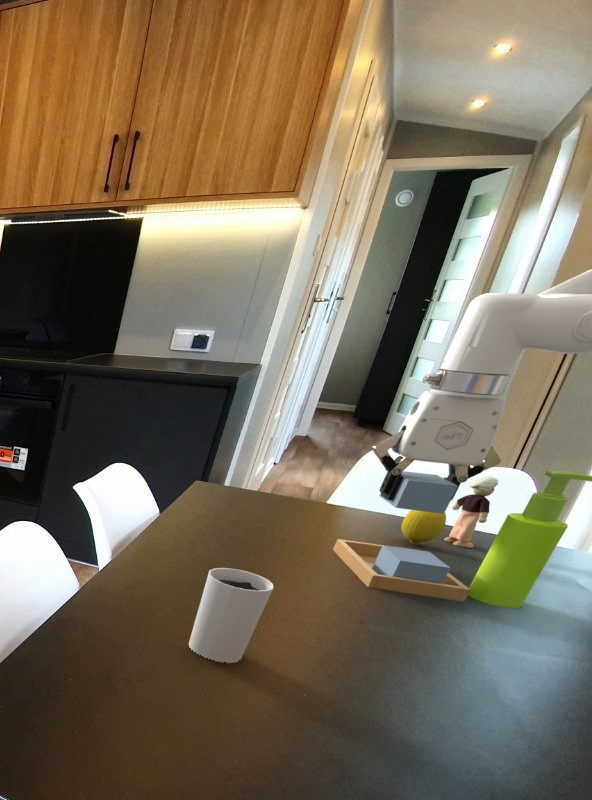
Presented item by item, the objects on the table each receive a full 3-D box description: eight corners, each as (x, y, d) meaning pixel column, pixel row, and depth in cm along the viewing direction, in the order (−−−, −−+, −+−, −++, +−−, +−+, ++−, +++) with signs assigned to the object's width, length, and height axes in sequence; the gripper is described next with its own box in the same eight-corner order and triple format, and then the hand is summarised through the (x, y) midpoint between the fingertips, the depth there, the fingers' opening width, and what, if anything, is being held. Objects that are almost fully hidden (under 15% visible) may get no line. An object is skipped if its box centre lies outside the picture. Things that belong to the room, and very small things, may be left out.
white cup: (193, 632, 84) (216, 563, 80) (251, 651, 80) (279, 580, 76) (177, 649, 80) (201, 577, 76) (237, 671, 76) (266, 596, 71)
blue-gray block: (424, 501, 104) (437, 474, 102) (444, 513, 98) (458, 485, 96) (378, 496, 106) (390, 469, 104) (395, 507, 100) (408, 480, 98)
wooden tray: (413, 563, 108) (420, 550, 107) (462, 604, 94) (470, 589, 93) (331, 552, 112) (337, 538, 111) (366, 589, 98) (373, 575, 97)
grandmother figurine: (486, 550, 115) (522, 483, 110) (465, 549, 115) (500, 482, 110) (447, 535, 122) (479, 471, 117) (427, 534, 122) (458, 470, 117)
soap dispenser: (535, 616, 91) (616, 481, 83) (471, 603, 94) (542, 473, 86) (521, 601, 96) (596, 472, 87) (459, 589, 99) (526, 464, 90)
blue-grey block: (416, 577, 102) (429, 551, 100) (436, 594, 96) (450, 567, 94) (370, 570, 104) (382, 545, 102) (387, 587, 98) (400, 560, 96)
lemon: (401, 546, 116) (421, 505, 113) (389, 536, 121) (407, 496, 117) (439, 551, 114) (460, 509, 111) (425, 541, 119) (445, 500, 115)
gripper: (405, 382, 94) (354, 499, 101) (561, 393, 88) (494, 516, 95) (385, 377, 100) (339, 487, 108) (529, 387, 94) (469, 503, 102)
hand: (412, 500), depth 101 cm, fingers closed on blue-gray block, 6 cm apart
